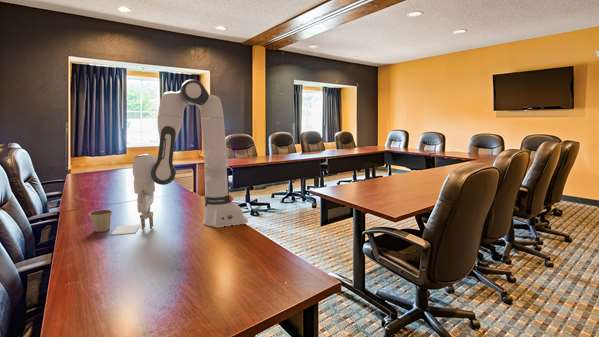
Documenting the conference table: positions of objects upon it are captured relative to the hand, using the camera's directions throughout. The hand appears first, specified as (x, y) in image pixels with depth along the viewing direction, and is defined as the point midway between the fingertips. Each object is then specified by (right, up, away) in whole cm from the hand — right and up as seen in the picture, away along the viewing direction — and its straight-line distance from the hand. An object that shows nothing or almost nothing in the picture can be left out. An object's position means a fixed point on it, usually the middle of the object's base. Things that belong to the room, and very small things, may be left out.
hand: (146, 216), depth 156 cm
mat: (-9, -6, -1) cm, 11 cm away
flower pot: (-21, -6, -1) cm, 22 cm away
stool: (0, -5, +1) cm, 5 cm away
